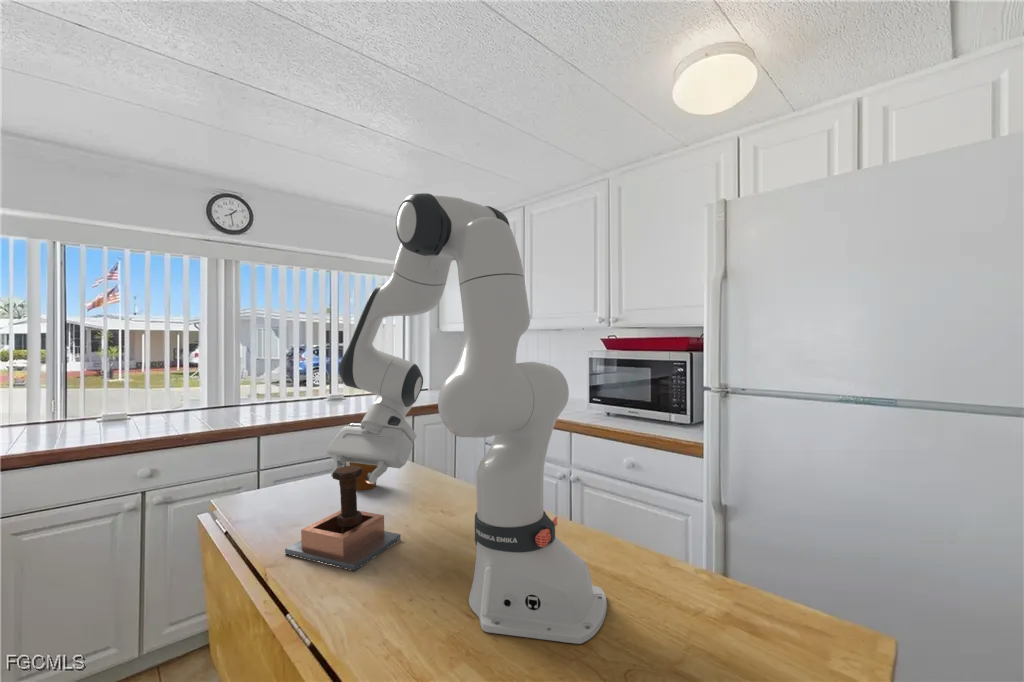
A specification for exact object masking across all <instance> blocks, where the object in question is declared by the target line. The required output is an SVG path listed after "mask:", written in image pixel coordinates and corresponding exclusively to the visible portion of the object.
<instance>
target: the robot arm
mask: <svg viewBox="0 0 1024 682" xmlns="http://www.w3.org/2000/svg"><path fill="white" fill-rule="evenodd" d="M395 231H396V236H397V239H398V240H399V242H400V245H399V248H398V250H397V253H396V257H395V259H394V265H393V270H392V273H391V275H390V277H389V279H388V280H387V281H386V282H385V283H382V284H381V283H380V284H378V285H377V286H376V287H375V288H373V290H372V291H371V293H370V295H369V297H368V299H367V301H366V303H365V305H364V307H363V310H362V312H361V315H360V318H359V320H358V321H357V325H356V327H355V329H354V331H353V334H352V337H351V340H350V341H349V345H348V346H347V349H346V350H345V352H344V353H343V356H342V358H341V360H340V363H339V367H338V374H339V376H340V379H341V380H342V382H343V384H344V385H345V386H346V387H350V388H354V389H358V390H363V391H366V392H368V393H371V394H374V395H375V396H376V399H375V401H374V402H372V404H370V406H369V408H368V409H367V411H366V413H365V414H364V416H363V418H362V420H361V422H360V423H354V422H352V423H349V424H348V425H345V426H344V427H342V428H340V430H339V431H338V432H337V434H336V435H335V437H334V438H333V439H332V440H331V442H330V443H329V444H328V446H327V448H326V454H327V455H328V456H329V457H330V458H331V459H332V460H334V465H333V466H334V467H333V470H332V472H331V474H330V476H331V478H333V472H334V471H335V470H336V469H337V468H340V467H343V466H346V463H349V462H353V463H360V464H368V465H376V466H378V467H377V468H376V469H375V470H374V471H373V472H372V473H368V475H367V477H366V479H365V481H366V482H367V483H369V484H375V482H376V483H377V481H376V480H378V479H379V478H380V477H381V476H382V475H383V474H384V473H386V472H387V469H388V468H393V469H401V468H402V467H404V466H405V465H406V464H407V462H408V460H409V458H410V455H411V453H412V449H413V446H414V445H413V442H415V440H416V438H417V433H416V432H415V430H414V429H413V427H412V426H411V425H410V424H409V423H408V421H406V416H407V414H408V413H409V411H410V410H411V409H412V407H413V405H414V404H415V403H416V401H417V400H418V397H419V396H420V393H421V392H422V389H423V385H424V377H423V374H422V372H421V369H420V368H419V366H418V364H416V363H414V362H412V361H409V360H406V359H404V358H401V357H399V356H395V355H392V354H389V353H386V352H384V351H381V350H378V349H376V348H375V346H374V345H373V343H374V341H375V338H376V336H377V333H378V331H379V328H380V326H381V324H382V321H383V319H384V318H389V317H398V316H401V317H409V316H410V317H411V316H418V315H419V316H420V315H423V314H425V313H427V312H429V311H432V310H433V309H434V308H436V307H437V306H438V305H439V303H440V301H441V299H442V296H443V294H444V291H445V287H446V285H447V280H448V277H449V273H450V267H451V263H452V262H453V261H455V262H456V266H457V275H458V277H457V278H458V283H459V285H458V286H459V293H460V299H461V301H460V302H461V308H462V321H463V322H462V323H463V338H462V345H461V350H460V355H459V357H458V360H457V363H456V365H455V367H454V369H453V370H452V371H451V373H450V374H449V375H448V377H447V378H446V379H445V380H444V381H443V383H442V385H441V387H440V390H439V393H438V398H437V407H438V413H439V416H440V419H441V421H442V423H443V425H444V426H445V428H447V430H448V431H449V432H450V433H451V434H452V435H454V436H456V437H460V438H472V439H473V438H475V439H477V438H478V439H479V438H480V439H481V438H483V439H484V438H490V437H493V440H492V442H491V445H490V447H489V449H488V451H487V452H486V453H485V454H484V456H483V457H482V458H481V460H480V461H479V463H478V466H477V468H476V471H475V472H476V473H475V474H476V475H475V476H476V478H475V479H476V480H475V481H476V485H475V486H476V512H475V514H474V543H475V546H476V551H475V552H476V554H475V556H476V557H475V566H474V573H473V579H472V584H471V588H470V593H469V595H468V604H469V605H468V606H469V607H470V609H471V610H472V612H474V614H475V615H476V616H477V617H478V619H479V625H480V628H481V630H482V631H483V632H486V633H488V634H489V633H490V634H491V633H492V634H499V635H507V636H514V637H521V638H522V637H523V638H531V639H538V640H546V641H553V642H561V643H567V644H568V643H570V644H577V645H578V644H579V645H580V644H584V643H586V642H587V641H589V640H590V639H591V638H593V637H594V636H595V635H596V634H597V633H598V632H599V630H600V628H601V627H602V626H603V623H604V620H605V618H606V614H607V610H608V603H607V602H608V601H607V596H606V594H605V592H604V591H603V590H604V589H602V588H601V587H599V586H596V585H593V583H592V581H593V580H592V577H591V573H590V569H589V566H588V565H587V563H586V561H585V560H584V559H583V558H582V557H581V556H579V555H578V554H576V552H574V551H573V550H572V549H571V548H570V547H568V546H567V545H566V544H565V543H564V542H563V541H562V540H560V538H558V537H557V536H556V527H557V525H558V516H555V517H554V518H553V520H552V519H551V518H550V517H549V516H548V514H547V513H546V511H545V509H544V482H545V481H544V476H545V475H544V474H545V473H544V471H545V465H546V457H547V453H548V449H549V444H550V440H551V438H552V434H553V431H554V428H555V425H556V422H557V420H558V418H559V416H560V415H561V413H562V412H563V411H564V409H565V408H566V406H567V405H568V401H569V392H570V391H569V385H568V381H567V378H566V377H565V375H564V374H563V372H561V370H559V368H557V367H555V366H554V365H553V366H552V365H550V364H546V363H541V362H536V361H526V362H525V361H524V362H517V351H518V350H517V349H518V346H519V342H520V339H521V336H523V335H524V334H525V333H526V332H527V330H528V329H529V327H530V324H531V315H530V307H529V301H528V300H529V299H528V295H527V294H528V293H527V288H526V281H525V275H524V269H523V264H522V263H523V262H522V259H521V255H520V251H519V248H518V244H517V241H516V239H515V236H514V233H513V231H512V229H511V225H510V222H509V220H508V218H507V216H506V215H505V214H504V212H502V211H500V210H499V209H497V208H494V207H492V206H489V205H481V204H478V203H475V202H473V201H468V200H464V199H463V198H459V197H455V196H448V195H447V196H445V195H433V194H431V193H427V192H426V193H425V192H424V193H413V194H410V195H407V197H405V198H404V199H403V201H402V202H401V203H400V205H399V207H398V210H397V213H396V217H395Z"/></svg>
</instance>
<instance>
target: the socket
mask: <svg viewBox="0 0 1024 682" xmlns="http://www.w3.org/2000/svg"><path fill="white" fill-rule="evenodd" d="M359 511H360V512H361V513H362V520H361V521H360V523H359V524H358V526H356V527H355V528H353V529H351V530H349V531H347V532H346V533H344V534H342V527H341V526H339V525H338V524H337V517H338V515H339V514H340V513H341V509H340V510H339V511H336V512H334V513H332V514H330V515H329V516H326V517H324V518H323V519H319V520H318V521H316V522H314V523H312V524H310V525H308V526H306V527H304V528H302V529H300V535H301V536H300V537H301V539H300V540H299V541H297V542H295V543H292V544H291V545H289V546H287V547H284V554H285V553H286V554H290V555H295V556H298V557H302V558H306V559H310V560H315V561H320V562H323V563H327V564H332V565H335V566H339V567H342V568H347V569H351V570H355V571H357V570H358V569H359V568H358V567H360V566H361V565H363V564H364V563H366V562H367V561H369V560H370V561H372V560H373V559H374V558H376V557H377V556H379V555H381V554H382V553H383V552H385V551H386V550H387V548H388V547H389V548H390V546H391V545H392V546H393V544H394V543H395V544H396V542H397V541H398V542H400V541H401V540H402V539H401V537H402V536H401V533H397V532H391V531H387V530H386V531H385V514H380V513H373V512H367V511H364V510H359ZM400 539H401V540H400ZM398 542H397V543H398ZM395 544H394V545H395ZM392 546H391V547H392ZM389 548H388V549H389ZM384 550H385V551H384ZM382 551H383V552H382ZM381 552H382V553H381ZM286 554H285V555H286ZM378 554H379V555H378ZM290 555H289V556H290ZM375 556H376V557H375ZM298 557H297V558H298ZM373 557H374V558H373ZM302 558H301V559H302ZM372 558H373V559H372ZM306 559H305V560H306ZM371 559H372V560H371ZM310 560H309V561H310ZM370 561H369V562H370ZM367 563H368V562H367ZM367 563H366V564H367ZM364 565H365V564H364ZM364 565H363V566H364ZM361 567H362V566H361ZM361 567H360V568H361ZM342 568H341V569H342ZM357 568H358V569H357ZM356 569H357V570H356Z"/></svg>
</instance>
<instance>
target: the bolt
mask: <svg viewBox="0 0 1024 682" xmlns="http://www.w3.org/2000/svg"><path fill="white" fill-rule="evenodd" d="M332 472H333V471H332ZM360 475H362V469H361V468H360V467H359V466H350V465H343V466H342V467H340V468H337V469H336V470H335V471H334V472H333V477H332V479H334V480H336V481H338V482H339V495H340V510H341V513H340V514H339V515H338V517H337V524H338V525H339V526H341V527H342V534H344V533H346V532H347V531H349V530H351V529H353V528H355V527H356V526H358V524H359V523H360V521H361V520H362V513H361V512H360V511H361V510H358V502H357V499H358V496H357V490H356V478H358V477H359V476H360Z"/></svg>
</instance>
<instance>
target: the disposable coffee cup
mask: <svg viewBox="0 0 1024 682" xmlns="http://www.w3.org/2000/svg"><path fill="white" fill-rule="evenodd" d="M348 463H349V466H359V467H360V468H361V469H362V475H360V476H359V477H358V478H356V491H357V490H358V492H359V491H360V492H362V491H365V490H366V491H371V490H373V489H375V488H376V487H377V480H378V479H377V480H376V482H375V484H369V483H367V482H366V481H365V479H366V477H367V475H368V473H372V472H373V471H374V470H375V469H376V468H377V467H378V466H376V465H368V464H360V463H353V462H348Z"/></svg>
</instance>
